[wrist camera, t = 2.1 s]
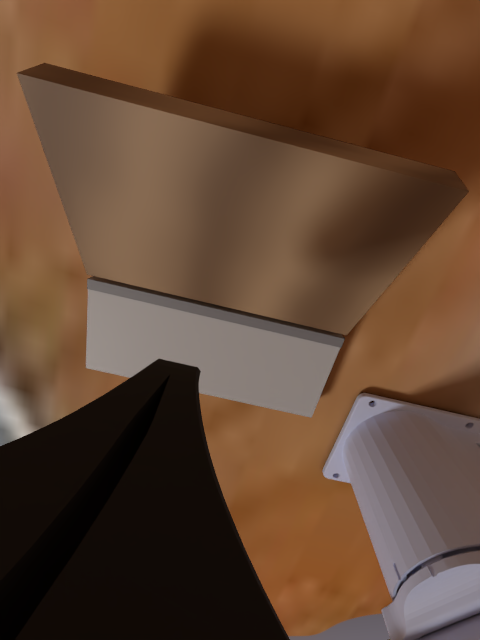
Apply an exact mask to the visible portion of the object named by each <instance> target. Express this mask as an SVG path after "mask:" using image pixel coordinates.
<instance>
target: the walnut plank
mask: <svg viewBox="0 0 480 640" xmlns="http://www.w3.org/2000/svg"><path fill="white" fill-rule="evenodd" d="M17 75H18V78H19V81H20V84H21V87H22V90H23V92H24V95H25V98H26V101H27V104H28V107H29V110H30V112H31V115H32V118H33V121H34V124H35V127H36V130H37V133H38V135H39V138H40V141H41V144H42V147H43V150H44V153H45V155H46V158H47V161H48V164H49V167H50V170H51V173H52V175H53V178H54V181H55V184H56V187H57V190H58V193H59V195H60V198H61V201H62V204H63V207H64V210H65V213H66V215H67V218H68V221H69V224H70V227H71V230H72V233H73V235H74V238H75V241H76V244H77V247H78V250H79V253H80V256H81V258H82V261H83V264H84V267H85V270H86V273H87V275H91V276H96V277H100V278H104V279H108V280H113V281H117V282H121V283H125V284H130V285H134V286H138V287H143V288H147V289H151V290H155V291H160V292H164V293H168V294H172V295H177V296H181V297H185V298H189V299H194V300H198V301H202V302H207V303H211V304H215V305H219V306H224V307H228V308H232V309H236V310H241V311H245V312H249V313H253V314H258V315H262V316H266V317H270V318H275V319H279V320H283V321H288V322H292V323H296V324H300V325H305V326H309V327H313V328H317V329H322V330H326V331H330V332H334V333H339V334H343V335H347V334H348V333H349V332H350V331H351V330H352V328H353V327H354V326H355V325H356V324H357V323H358V321H359V320H360V319H361V318H362V317H363V316H364V314H365V313H366V312H367V311H368V310H369V308H370V307H371V306H372V305H373V304H374V303H375V301H376V300H377V299H378V298H379V297H380V295H381V294H382V293H383V292H384V291H385V290H386V288H387V287H388V286H389V285H390V284H391V283H392V281H393V280H394V279H395V278H396V277H397V275H398V274H399V273H400V272H401V271H402V270H403V268H404V267H405V266H406V265H407V264H408V263H409V261H410V260H411V259H412V258H413V257H414V255H415V254H416V253H417V252H418V251H419V250H420V248H421V247H422V246H423V245H424V244H425V243H426V241H427V240H428V239H429V238H430V237H431V235H432V234H433V233H434V232H435V231H436V230H437V228H438V227H439V226H440V225H441V224H442V222H443V221H444V220H445V219H446V218H447V217H448V215H449V214H450V213H451V212H452V211H453V210H454V208H455V207H456V206H457V205H458V204H459V202H460V201H461V200H462V199H463V198H464V197H465V195H466V194H467V193H468V192H469V191H468V190H467V188H466V187H465V185H464V184H463V182H462V181H461V180H460V178H459V177H458V175H457V174H456V173H455V171H451V170H447V169H444V168H440V167H436V166H432V165H428V164H425V163H421V162H417V161H413V160H410V159H406V158H402V157H398V156H394V155H391V154H387V153H383V152H379V151H376V150H372V149H368V148H364V147H360V146H357V145H353V144H349V143H345V142H342V141H338V140H334V139H330V138H326V137H323V136H319V135H315V134H311V133H308V132H304V131H300V130H296V129H292V128H289V127H285V126H281V125H277V124H274V123H270V122H266V121H262V120H258V119H255V118H251V117H247V116H243V115H239V114H236V113H232V112H228V111H224V110H221V109H217V108H213V107H209V106H205V105H202V104H198V103H194V102H190V101H187V100H183V99H179V98H175V97H171V96H168V95H164V94H160V93H156V92H153V91H149V90H145V89H141V88H137V87H134V86H130V85H126V84H122V83H119V82H115V81H111V80H107V79H103V78H100V77H96V76H92V75H88V74H84V73H81V72H77V71H73V70H69V69H66V68H62V67H58V66H54V65H50V64H47V63H43V64H40V65H38V66H35V67H32V68H29V69H26V70H24V71H21V72H18V73H17Z"/></svg>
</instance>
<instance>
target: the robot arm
mask: <svg viewBox="0 0 480 640" xmlns="http://www.w3.org/2000/svg"><path fill="white" fill-rule="evenodd" d="M200 373H201V371H200V370H199V368H198V367H194V366H190V365H186V364H181V363H177V362H172V361H168V360H163V359H158V360H156V361H154V362H153V363H151V364H150V365H148V366H147V367H145V368H144V369H143V370H141V371H140V372H138V373H137V374H135V375H134V376H132V377H131V378H129V379H128V380H126V381H125V382H123V383H122V384H120V385H119V386H117V387H115V388H114V389H112V390H111V391H109V392H108V393H106V394H104V395H103V396H101V397H99V398H98V399H96V400H94V401H92V402H91V403H89V404H87V405H85V406H84V407H82V408H80V409H78V410H77V411H75V412H73V413H71V414H69V415H67V416H65V417H63V418H62V419H60V420H58V421H56V422H54V423H52V424H49V425H47V426H45V427H43V428H41V429H39V430H37V431H35V432H33V433H30V434H28V435H26V436H24V437H22V438H19V439H17V440H14V441H12V442H10V443H7V444H5V445H2V446H0V640H290V639H289V637H288V635H287V633H286V632H285V630H284V628H283V626H282V624H281V622H280V620H279V618H278V616H277V614H276V612H275V610H274V608H273V606H272V604H271V602H270V600H269V598H268V596H267V594H266V593H265V591H264V589H263V587H262V584H261V582H260V580H259V578H258V576H257V574H256V572H255V570H254V567H253V565H252V563H251V561H250V559H249V557H248V555H247V552H246V550H245V548H244V546H243V543H242V541H241V539H240V536H239V534H238V531H237V529H236V526H235V524H234V522H233V519H232V517H231V514H230V512H229V509H228V507H227V505H226V502H225V499H224V497H223V494H222V491H221V488H220V485H219V482H218V479H217V477H216V473H215V470H214V467H213V464H212V460H211V457H210V453H209V449H208V445H207V441H206V437H205V432H204V428H203V422H202V416H201V409H200V401H199V377H200ZM370 401H374V402H373V403H369V402H370ZM467 423H468V424H467ZM335 473H336V474H335ZM323 475H324V476H325V477H326V478H329V479H333V480H338V481H343V482H348V483H351V485H352V487H353V490H354V493H355V496H356V499H357V502H358V505H359V507H360V510H361V513H362V516H363V519H364V522H365V524H366V527H367V530H368V533H369V536H370V539H371V542H372V544H373V547H374V550H375V553H376V556H377V559H378V561H379V564H380V567H381V570H382V573H383V576H384V578H385V581H386V584H387V587H388V590H389V593H390V596H391V598H392V601H393V602H392V603H391V604H389V605H388V606H386V607H384V608H383V609H382V610H381V611H382V614H383V617H384V620H385V624H386V627H387V630H388V633H389V636H390V639H388V640H480V419H479V418H474V417H470V416H465V415H461V414H457V413H452V412H448V411H443V410H439V409H434V408H430V407H426V406H421V405H417V404H412V403H408V402H404V401H399V400H395V399H390V398H386V397H381V396H377V395H373V394H368V393H362V394H360V395H358V397H357V398H356V400H355V402H354V405H353V407H352V409H351V411H350V413H349V415H348V417H347V419H346V421H345V423H344V426H343V428H342V430H341V432H340V434H339V436H338V438H337V440H336V442H335V445H334V447H333V449H332V451H331V453H330V455H329V457H328V459H327V461H326V463H325V466H324V468H323Z"/></svg>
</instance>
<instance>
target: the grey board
mask: <svg viewBox="0 0 480 640" xmlns="http://www.w3.org/2000/svg"><path fill="white" fill-rule="evenodd" d="M87 289H88V313H87V349H86V368H89V369H93V370H98V371H102V372H107V373H111V374H116V375H120V376H125V377H130V378H131V377H132V376H134V375H135V374H137V373H138V372H140V371H141V370H143V369H144V368H145V367H147V366H148V365H150V364H151V363H153V362H154V361H156V360H158V359H163V360H168V361H172V362H177V363H181V364H186V365H190V366H194V367H198V368H199V370H200V371H201V373H200V377H199V393H202V394H207V395H211V396H216V397H220V398H225V399H229V400H234V401H238V402H243V403H248V404H252V405H257V406H261V407H266V408H270V409H275V410H279V411H284V412H288V413H293V414H297V415H302V416H307V417H312V415H313V412H314V410H315V408H316V405H317V403H318V400H319V398H320V396H321V393H322V391H323V388H324V386H325V383H326V381H327V379H328V376H329V374H330V371H331V369H332V367H333V364H334V362H335V359H336V357H337V354H338V352H339V350H340V348H341V347H342V344H343V342H344V340H345V339H344V337H343V336H342V334H339V333H334V332H330V331H326V330H322V329H317V328H313V327H309V326H305V325H300V324H296V323H292V322H288V321H283V320H279V319H275V318H270V317H266V316H262V315H258V314H253V313H249V312H245V311H241V310H236V309H232V308H228V307H224V306H219V305H215V304H211V303H207V302H202V301H198V300H194V299H189V298H185V297H181V296H177V295H172V294H168V293H164V292H160V291H155V290H151V289H147V288H143V287H138V286H134V285H130V284H125V283H121V282H117V281H113V280H108V279H104V278H100V277H96V276H93V277H91V278H88V279H87Z"/></svg>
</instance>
